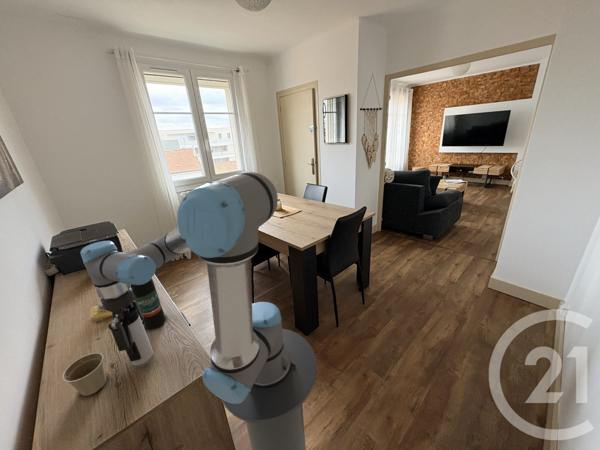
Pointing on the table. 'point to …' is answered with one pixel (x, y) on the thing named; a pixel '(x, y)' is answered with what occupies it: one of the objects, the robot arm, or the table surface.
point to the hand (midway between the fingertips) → (139, 350)
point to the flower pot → (86, 374)
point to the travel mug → (139, 338)
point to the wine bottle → (149, 304)
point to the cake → (99, 313)
